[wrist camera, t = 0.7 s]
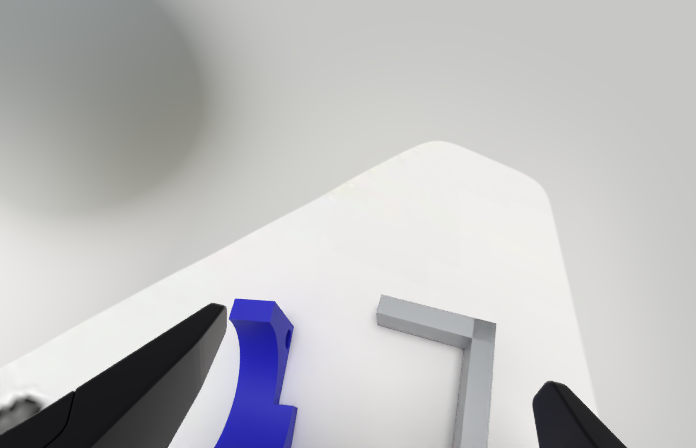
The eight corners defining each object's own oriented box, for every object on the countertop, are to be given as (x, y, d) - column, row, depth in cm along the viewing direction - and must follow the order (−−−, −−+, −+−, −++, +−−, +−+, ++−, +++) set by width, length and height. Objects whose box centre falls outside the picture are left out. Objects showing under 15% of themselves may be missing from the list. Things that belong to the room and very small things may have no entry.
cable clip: (280, 512, 22) (249, 530, 17) (216, 502, 22) (167, 516, 17) (311, 328, 28) (295, 302, 23) (260, 324, 29) (235, 298, 24)
